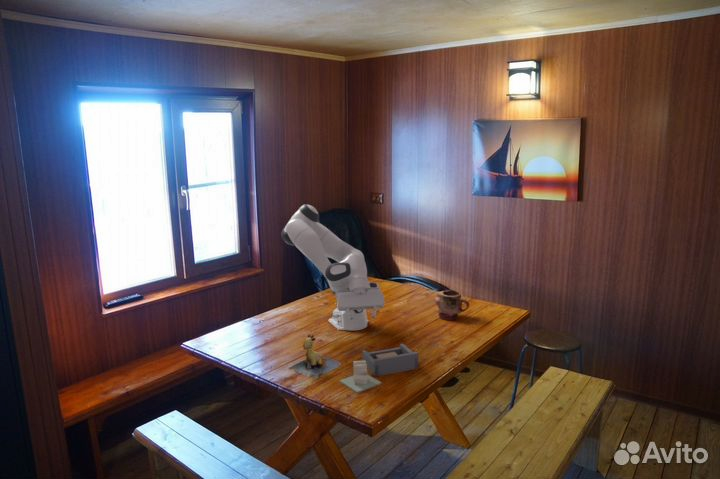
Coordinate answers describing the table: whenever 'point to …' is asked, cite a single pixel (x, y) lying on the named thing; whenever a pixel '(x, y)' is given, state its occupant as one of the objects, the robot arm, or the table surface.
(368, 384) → the mat
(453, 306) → the brown ceramic mug
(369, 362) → the nook
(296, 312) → the table surface
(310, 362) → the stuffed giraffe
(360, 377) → the block
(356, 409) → the table surface
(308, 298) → the table surface
